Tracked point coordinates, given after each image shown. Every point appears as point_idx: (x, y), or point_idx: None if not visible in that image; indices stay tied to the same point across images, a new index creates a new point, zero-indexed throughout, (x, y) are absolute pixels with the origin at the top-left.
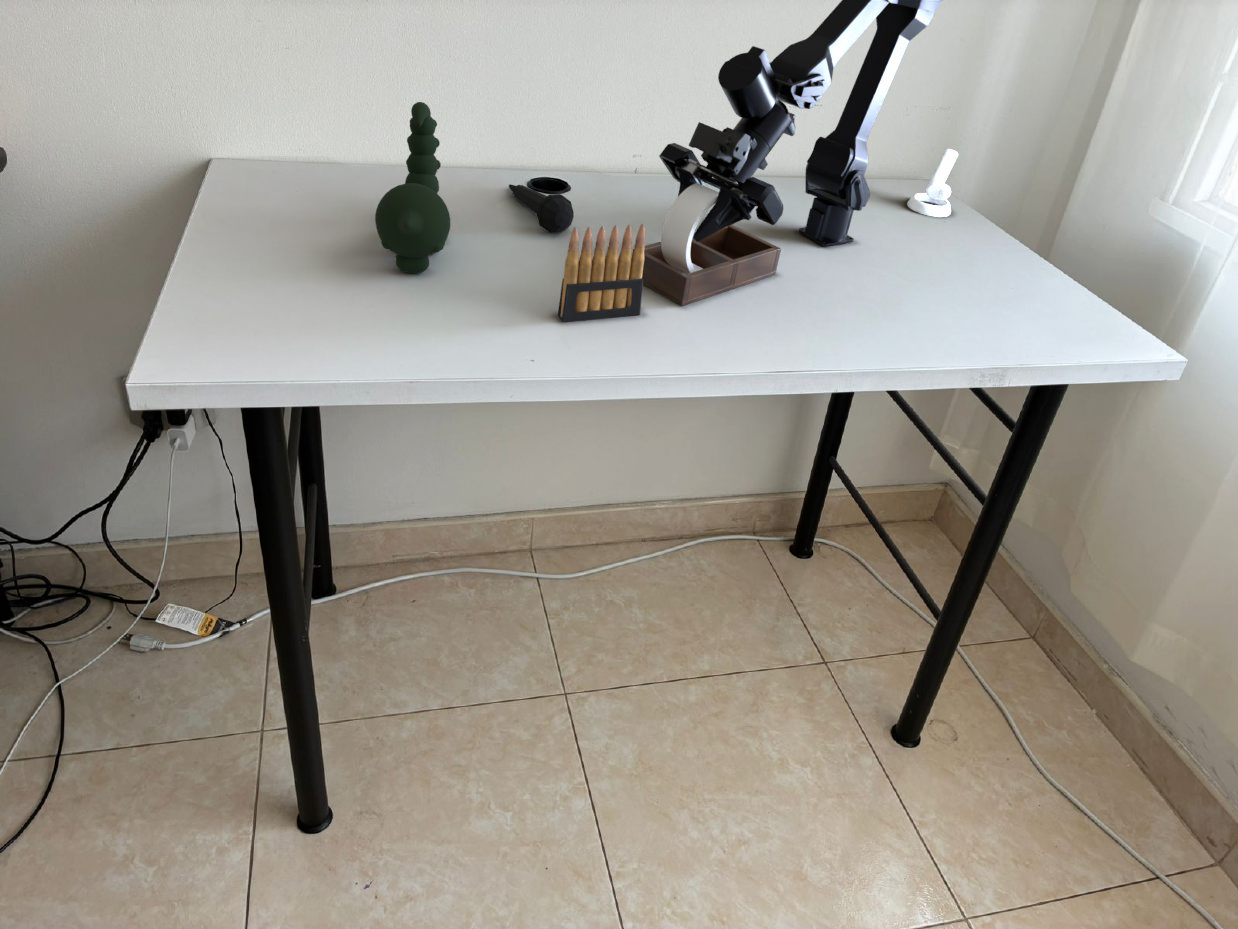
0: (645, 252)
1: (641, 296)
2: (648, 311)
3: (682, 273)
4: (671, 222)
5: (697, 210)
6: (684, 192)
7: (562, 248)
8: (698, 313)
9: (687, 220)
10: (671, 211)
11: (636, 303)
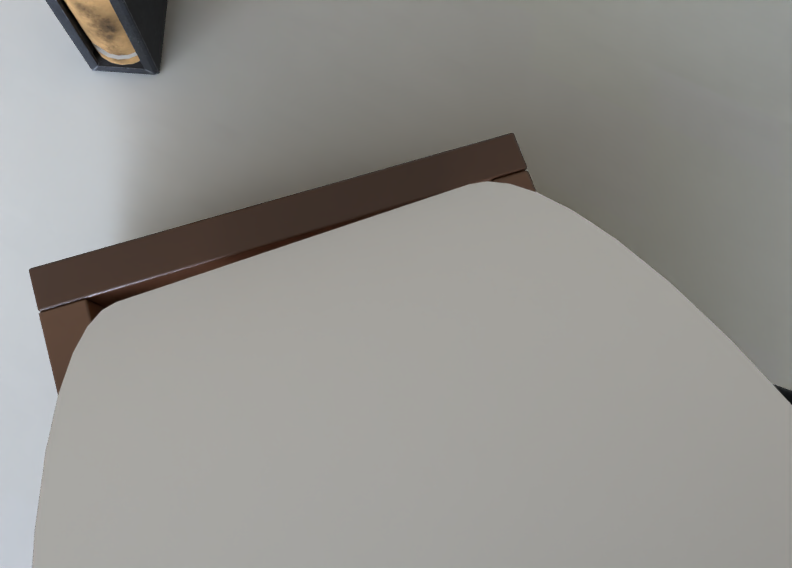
0: (452, 185)
1: (48, 4)
2: (114, 125)
3: (103, 275)
4: (391, 210)
5: (136, 412)
6: (730, 400)
7: (780, 39)
8: (12, 357)
9: (203, 288)
10: (489, 202)
11: (68, 8)
